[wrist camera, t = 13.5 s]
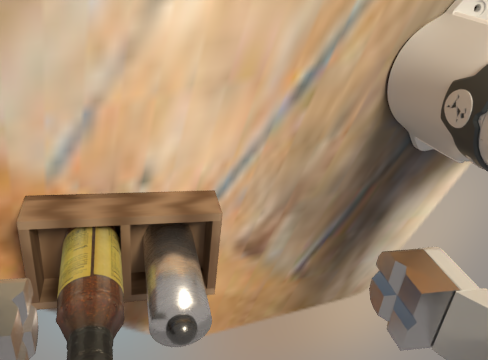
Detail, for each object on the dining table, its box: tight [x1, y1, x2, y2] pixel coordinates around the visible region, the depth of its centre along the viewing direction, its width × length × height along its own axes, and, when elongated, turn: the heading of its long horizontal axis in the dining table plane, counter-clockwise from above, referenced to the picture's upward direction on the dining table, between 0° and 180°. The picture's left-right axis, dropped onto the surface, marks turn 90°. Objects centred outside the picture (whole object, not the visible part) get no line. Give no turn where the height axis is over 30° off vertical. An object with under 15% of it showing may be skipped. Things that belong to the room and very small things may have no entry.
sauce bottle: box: [56, 226, 124, 360], centre depth 45 cm, size 6×6×20 cm
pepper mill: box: [143, 222, 212, 347], centre depth 49 cm, size 6×6×16 cm
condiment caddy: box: [17, 191, 222, 310], centre depth 53 cm, size 21×12×5 cm, turn 84°
